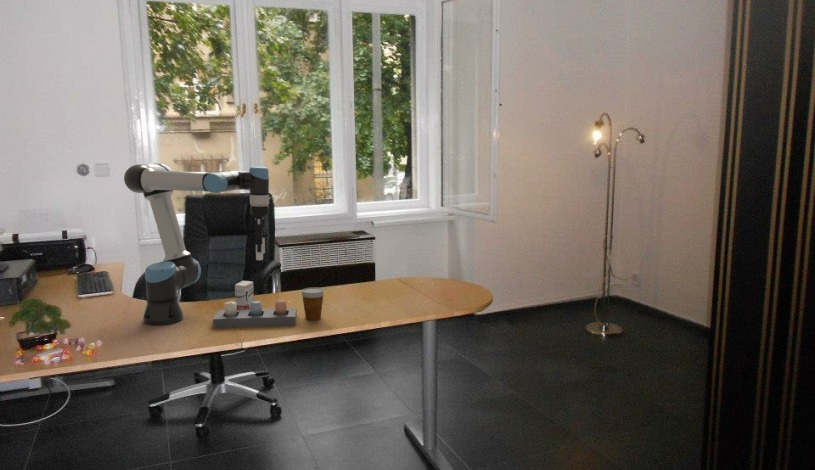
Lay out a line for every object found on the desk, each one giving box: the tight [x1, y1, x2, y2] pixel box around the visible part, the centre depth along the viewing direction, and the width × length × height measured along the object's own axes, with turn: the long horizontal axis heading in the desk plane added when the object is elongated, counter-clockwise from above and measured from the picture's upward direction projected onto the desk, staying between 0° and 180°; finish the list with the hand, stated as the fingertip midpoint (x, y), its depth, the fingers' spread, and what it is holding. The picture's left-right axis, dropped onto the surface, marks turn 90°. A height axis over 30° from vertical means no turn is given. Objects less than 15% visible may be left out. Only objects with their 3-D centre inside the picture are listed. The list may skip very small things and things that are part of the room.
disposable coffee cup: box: [301, 287, 325, 321], centre depth 248 cm, size 10×10×12 cm
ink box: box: [234, 280, 255, 310], centre depth 259 cm, size 9×5×12 cm, turn 168°
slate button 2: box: [249, 300, 263, 316], centre depth 242 cm, size 5×5×5 cm
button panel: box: [212, 307, 298, 329], centre depth 242 cm, size 32×12×4 cm, turn 98°
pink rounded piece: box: [274, 299, 288, 315], centre depth 243 cm, size 5×5×5 cm
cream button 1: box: [224, 301, 237, 317], centre depth 240 cm, size 5×5×5 cm
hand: (260, 256), depth 242 cm, fingers open, 13 cm apart
